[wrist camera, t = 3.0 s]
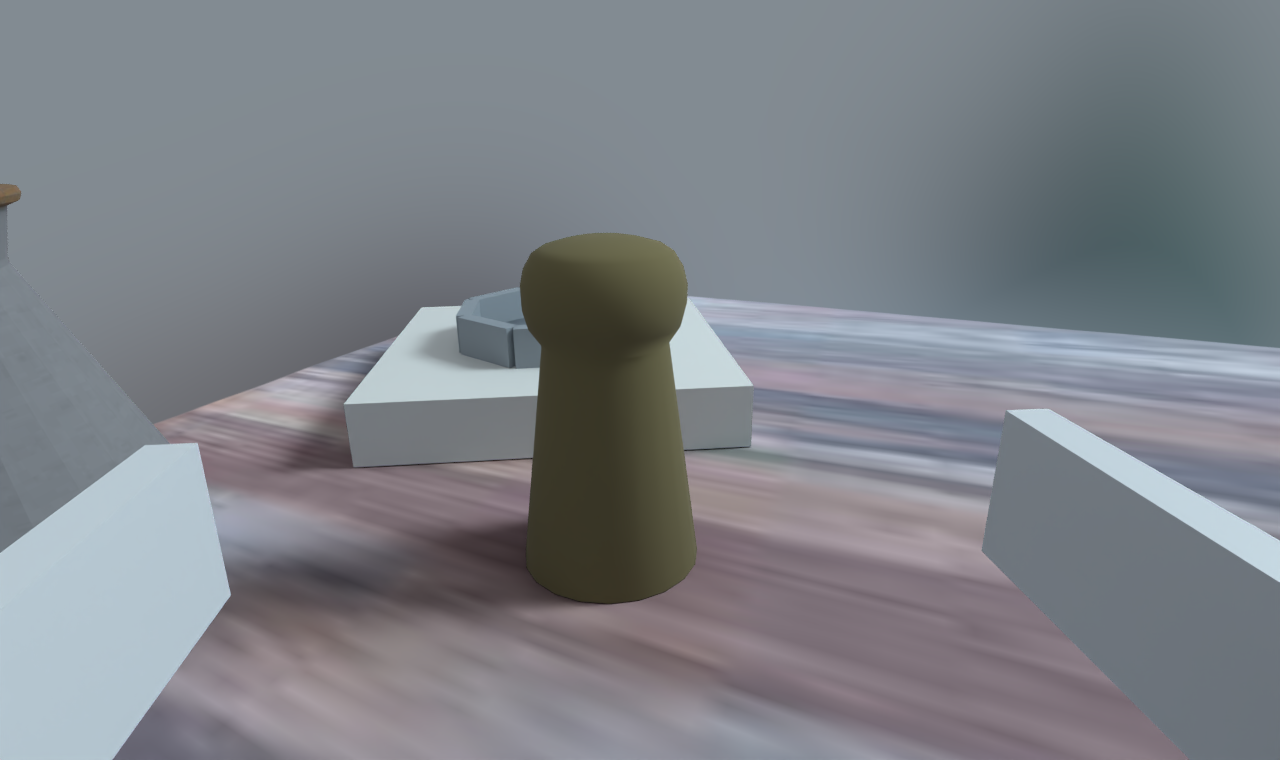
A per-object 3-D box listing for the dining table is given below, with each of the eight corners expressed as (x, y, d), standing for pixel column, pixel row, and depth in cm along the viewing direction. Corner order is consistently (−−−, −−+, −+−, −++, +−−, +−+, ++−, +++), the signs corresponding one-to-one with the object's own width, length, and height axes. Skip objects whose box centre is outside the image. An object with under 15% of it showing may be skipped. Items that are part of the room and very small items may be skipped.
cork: (586, 629, 22) (570, 260, 18) (495, 542, 26) (467, 235, 22) (733, 558, 25) (744, 237, 21) (629, 493, 30) (624, 219, 26)
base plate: (688, 340, 51) (689, 269, 49) (751, 446, 34) (755, 343, 32) (426, 350, 49) (418, 277, 47) (353, 467, 32) (336, 360, 30)
